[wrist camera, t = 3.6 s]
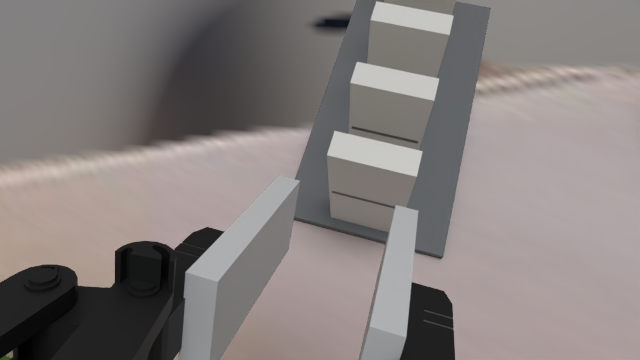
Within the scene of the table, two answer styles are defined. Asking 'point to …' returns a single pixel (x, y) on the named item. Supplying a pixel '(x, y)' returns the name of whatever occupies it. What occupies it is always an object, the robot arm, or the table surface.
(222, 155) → the table surface
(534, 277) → the table surface
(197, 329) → the robot arm
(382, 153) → the domino
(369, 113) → the domino
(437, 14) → the domino
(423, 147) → the mat
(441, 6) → the domino
